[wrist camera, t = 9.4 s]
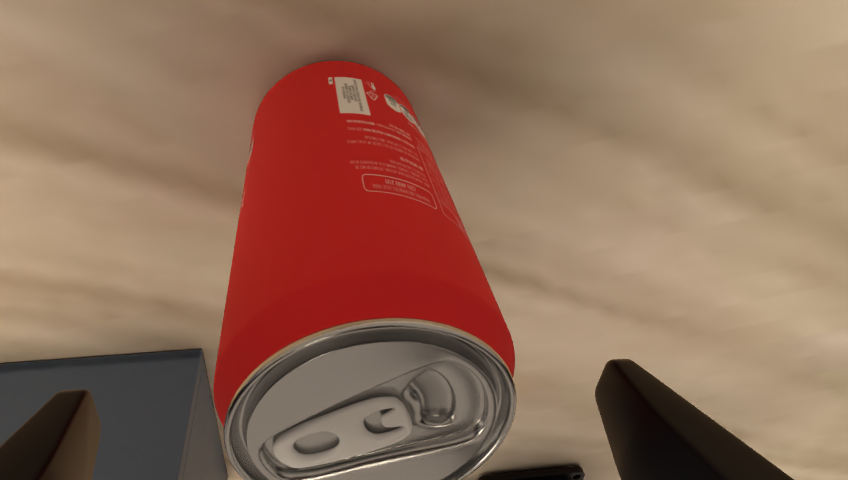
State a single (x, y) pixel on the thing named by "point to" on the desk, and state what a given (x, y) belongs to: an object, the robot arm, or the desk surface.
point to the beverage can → (355, 298)
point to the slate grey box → (129, 411)
